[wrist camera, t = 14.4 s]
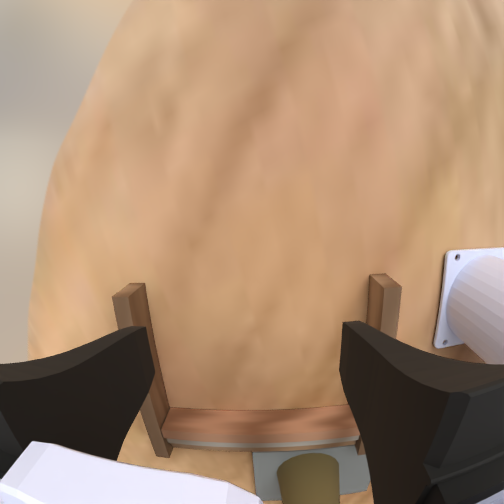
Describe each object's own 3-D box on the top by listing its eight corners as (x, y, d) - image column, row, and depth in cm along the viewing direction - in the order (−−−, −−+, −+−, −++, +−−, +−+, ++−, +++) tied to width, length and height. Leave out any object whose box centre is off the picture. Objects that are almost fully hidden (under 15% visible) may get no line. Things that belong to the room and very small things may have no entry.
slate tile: (381, 435, 24) (383, 440, 23) (365, 485, 25) (366, 490, 25) (252, 446, 24) (252, 452, 24) (257, 495, 26) (256, 500, 25)
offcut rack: (385, 273, 21) (401, 286, 18) (363, 431, 24) (371, 453, 21) (130, 283, 22) (111, 296, 19) (165, 434, 25) (156, 456, 22)
